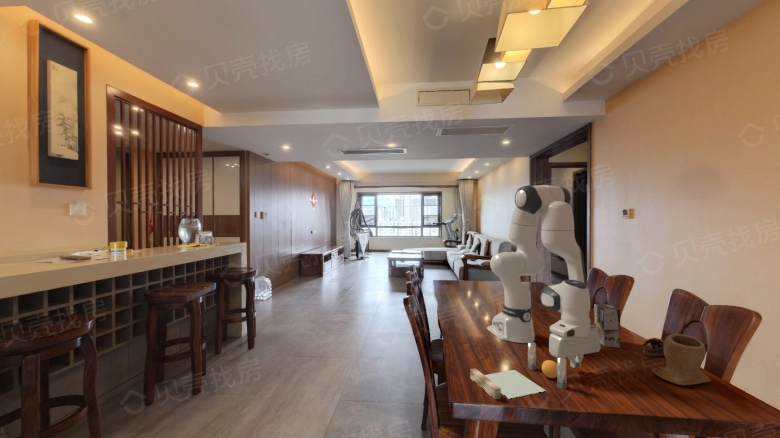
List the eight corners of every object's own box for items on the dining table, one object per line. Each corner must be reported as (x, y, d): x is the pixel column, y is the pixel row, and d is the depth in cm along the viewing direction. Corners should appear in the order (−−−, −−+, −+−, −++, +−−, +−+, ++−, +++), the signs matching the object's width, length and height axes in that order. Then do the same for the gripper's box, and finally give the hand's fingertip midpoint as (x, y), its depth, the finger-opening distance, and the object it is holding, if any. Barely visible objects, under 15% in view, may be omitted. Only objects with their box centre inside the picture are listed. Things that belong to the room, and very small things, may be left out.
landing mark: (480, 376, 103) (480, 375, 103) (514, 370, 107) (514, 369, 107) (508, 399, 89) (508, 398, 89) (546, 391, 94) (546, 390, 94)
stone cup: (685, 393, 93) (685, 344, 94) (647, 374, 105) (646, 330, 105) (725, 389, 96) (725, 341, 96) (683, 370, 107) (683, 328, 108)
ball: (538, 357, 105) (550, 357, 106) (537, 374, 104) (550, 374, 106) (551, 363, 99) (563, 363, 101) (551, 381, 99) (563, 380, 100)
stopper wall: (470, 378, 101) (470, 369, 102) (475, 377, 102) (475, 368, 102) (495, 399, 89) (495, 389, 89) (500, 398, 90) (500, 388, 90)
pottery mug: (684, 366, 112) (673, 347, 111) (654, 372, 116) (643, 354, 116) (669, 346, 122) (659, 329, 122) (642, 352, 127) (633, 335, 126)
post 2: (555, 385, 97) (555, 356, 98) (561, 383, 98) (561, 355, 98) (561, 389, 95) (561, 360, 95) (568, 387, 96) (568, 359, 96)
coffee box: (621, 348, 127) (621, 309, 127) (604, 346, 128) (603, 308, 128) (610, 339, 136) (609, 303, 136) (594, 338, 137) (593, 302, 137)
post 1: (526, 367, 109) (526, 342, 110) (532, 366, 110) (532, 341, 110) (531, 370, 107) (531, 345, 107) (537, 369, 108) (537, 344, 108)
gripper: (588, 321, 113) (589, 358, 113) (545, 327, 107) (545, 366, 107) (605, 327, 107) (605, 366, 107) (560, 333, 101) (560, 375, 101)
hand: (575, 366), depth 107 cm, fingers closed
